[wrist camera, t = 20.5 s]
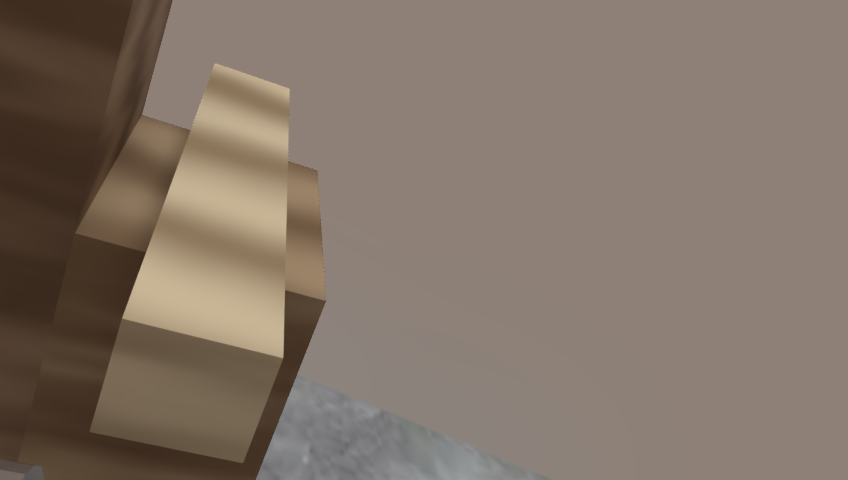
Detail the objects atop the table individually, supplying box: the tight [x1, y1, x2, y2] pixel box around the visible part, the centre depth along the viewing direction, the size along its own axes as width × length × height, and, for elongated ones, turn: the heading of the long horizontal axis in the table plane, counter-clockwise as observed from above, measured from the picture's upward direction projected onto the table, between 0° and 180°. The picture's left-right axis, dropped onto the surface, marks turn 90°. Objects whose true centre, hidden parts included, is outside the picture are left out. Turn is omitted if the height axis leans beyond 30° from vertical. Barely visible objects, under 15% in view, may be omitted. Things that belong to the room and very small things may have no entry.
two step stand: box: [0, 0, 326, 480], centre depth 31 cm, size 12×16×25 cm
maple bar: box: [90, 64, 290, 463], centre depth 27 cm, size 22×3×3 cm, turn 9°
